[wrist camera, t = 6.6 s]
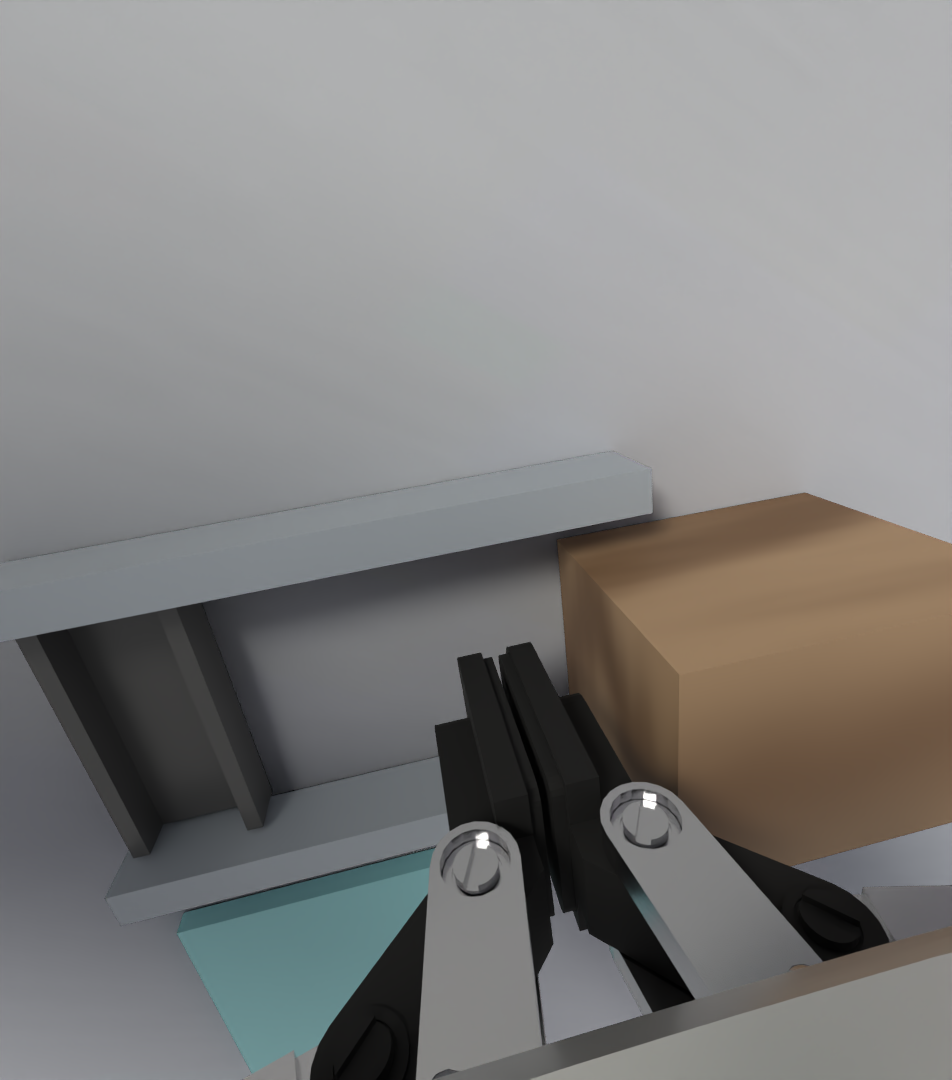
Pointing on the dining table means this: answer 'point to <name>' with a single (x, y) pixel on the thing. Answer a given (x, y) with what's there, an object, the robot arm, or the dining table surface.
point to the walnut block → (772, 669)
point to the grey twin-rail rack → (208, 695)
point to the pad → (299, 951)
